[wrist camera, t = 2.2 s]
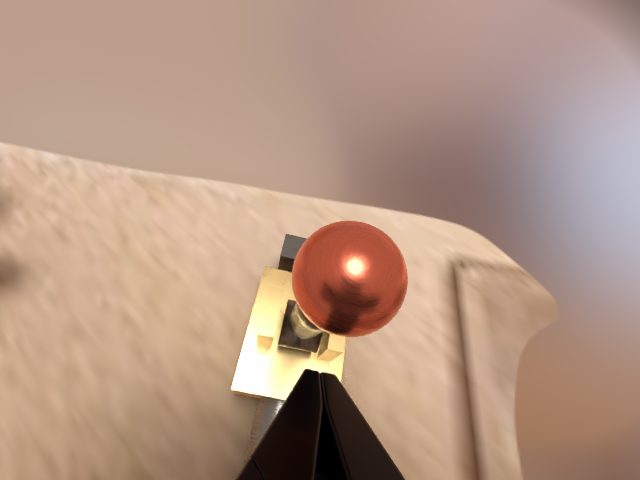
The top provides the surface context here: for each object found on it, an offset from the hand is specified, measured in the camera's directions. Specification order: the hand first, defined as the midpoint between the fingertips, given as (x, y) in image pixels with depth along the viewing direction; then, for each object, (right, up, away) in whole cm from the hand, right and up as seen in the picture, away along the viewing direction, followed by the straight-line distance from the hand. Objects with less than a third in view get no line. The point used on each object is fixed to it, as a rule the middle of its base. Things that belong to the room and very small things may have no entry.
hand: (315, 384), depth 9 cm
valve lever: (-1, -1, +9) cm, 10 cm away
